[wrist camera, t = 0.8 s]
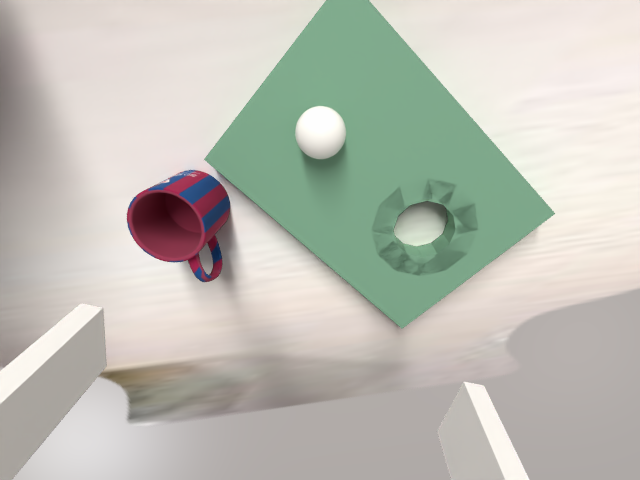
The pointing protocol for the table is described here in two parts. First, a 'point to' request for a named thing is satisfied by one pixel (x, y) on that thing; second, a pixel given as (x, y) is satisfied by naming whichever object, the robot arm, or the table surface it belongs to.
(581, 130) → the table surface
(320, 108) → the ball
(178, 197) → the mug
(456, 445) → the robot arm
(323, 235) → the green
